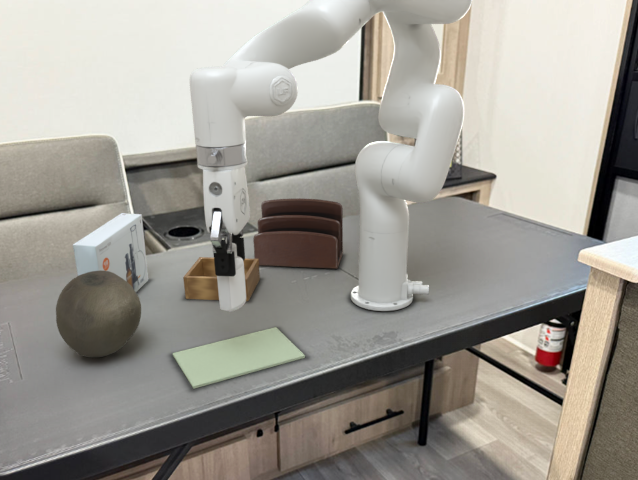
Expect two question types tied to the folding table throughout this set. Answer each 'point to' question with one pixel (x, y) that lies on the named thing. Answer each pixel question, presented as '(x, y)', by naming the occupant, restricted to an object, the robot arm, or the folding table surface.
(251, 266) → the wooden box
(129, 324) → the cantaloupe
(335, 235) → the letter holder
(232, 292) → the eye dropper bottle
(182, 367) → the mat
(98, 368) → the folding table surface
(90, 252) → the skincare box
